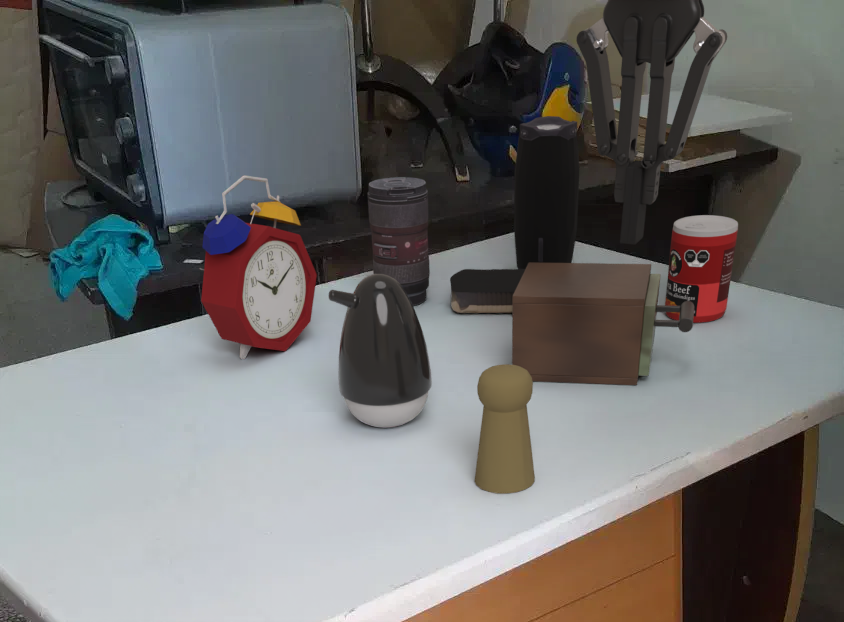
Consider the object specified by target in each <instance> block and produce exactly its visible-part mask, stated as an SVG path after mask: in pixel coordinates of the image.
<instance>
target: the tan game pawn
mask: <svg viewBox="0 0 844 622" xmlns="http://www.w3.org/2000/svg"><path fill="white" fill-rule="evenodd" d="M476 387H477V391H476V392H477V397H478V400H479V401H480V403H481V404H482V405H483V407H482V415H481V417H482V418H481V424H480V432H479V438H478V439H479V440H478V449H477V456H476V464H475V472H474V480H473V482H474V483H475V486H476V487H478V488H479V489H481V490H483V491H486V492H488V493H493V494H513V493H514V494H515V493H520V492H522V491H526V490H527V489H529V488H531V487H532V486H533V484H534V483H535V481H536V480H535V479H536V476H535V467H534V458H533V457H534V456H533V449H532V441H531V440H532V439H531V431H530V422H529V414H528V403H530V400H531V399H532V396H533V389H534V381H532V377H531V376H530V374H529V372H528V371H527V370H526V369H524V368H522V367H520V366H517V365H512V364H510V363H509V364H507V363H506V364H505V363H504V364H497V365H496V364H495V365H493V366H490V367H488V368H486V369H484V370H483V371H482V372H481V373H480V375H479V377H478V381H477V386H476Z"/></svg>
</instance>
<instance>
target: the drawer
mask: <svg viewBox="0 0 844 622" xmlns="http://www.w3.org/2000/svg"><path fill="white" fill-rule="evenodd" d="M660 285H661V273H650V279H649V284H648V289H647V295H646V300H645V305H644V316H643V327H642V338H641V349H640V360H639V371H638V375H639V376H643V377H644V376H645V377H649V375H650V370H651V363H652V357H653V350H654V344H655V335H656V328H657V327H658V328H659V327H661V328H678V329H679V331H680V332H682V333H688V332H690V331H691V330H692V329H693V327H694V323H693V318H694V304H693V303H692V302H691V301H685V302H683V303H682V305H681V307H680V306H669V305H665V304H661V305H660V304H659V295H660ZM666 312H680V315H679V320H674V319H657V316H658V315H657V314H658V313H666ZM639 376H638V377H639Z"/></svg>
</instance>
